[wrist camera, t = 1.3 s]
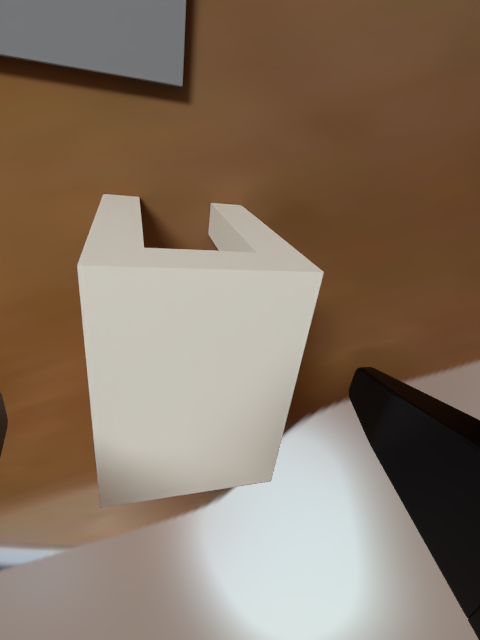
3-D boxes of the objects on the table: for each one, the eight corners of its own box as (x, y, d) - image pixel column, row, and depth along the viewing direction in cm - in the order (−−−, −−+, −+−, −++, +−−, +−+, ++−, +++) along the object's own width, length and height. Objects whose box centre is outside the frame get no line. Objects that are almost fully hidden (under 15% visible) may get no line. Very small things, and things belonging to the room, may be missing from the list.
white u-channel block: (241, 205, 14) (324, 272, 8) (222, 354, 17) (270, 481, 11) (103, 193, 12) (77, 265, 6) (112, 359, 15) (100, 508, 10)
